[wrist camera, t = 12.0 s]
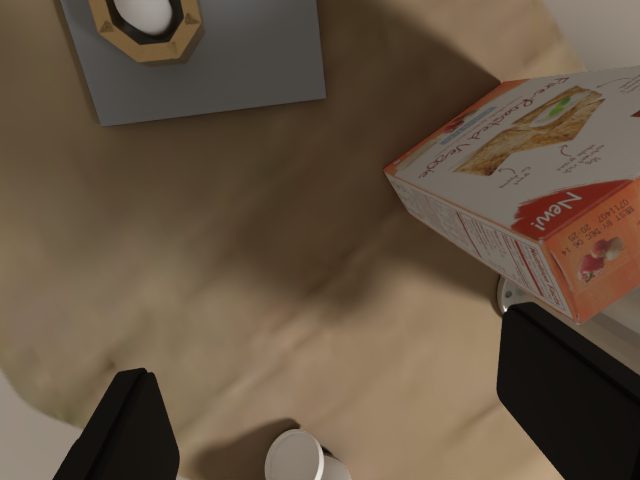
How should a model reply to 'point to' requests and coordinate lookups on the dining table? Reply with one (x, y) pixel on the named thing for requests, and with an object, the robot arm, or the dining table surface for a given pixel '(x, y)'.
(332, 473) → the spread jar
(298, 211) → the dining table surface
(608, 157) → the cracker box
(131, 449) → the robot arm
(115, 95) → the base
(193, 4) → the ring
